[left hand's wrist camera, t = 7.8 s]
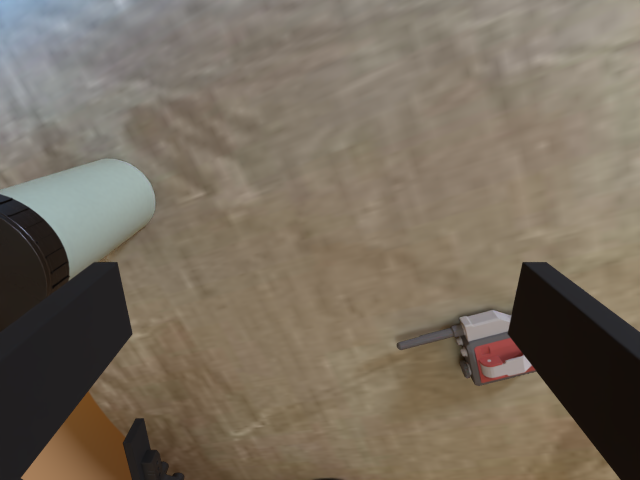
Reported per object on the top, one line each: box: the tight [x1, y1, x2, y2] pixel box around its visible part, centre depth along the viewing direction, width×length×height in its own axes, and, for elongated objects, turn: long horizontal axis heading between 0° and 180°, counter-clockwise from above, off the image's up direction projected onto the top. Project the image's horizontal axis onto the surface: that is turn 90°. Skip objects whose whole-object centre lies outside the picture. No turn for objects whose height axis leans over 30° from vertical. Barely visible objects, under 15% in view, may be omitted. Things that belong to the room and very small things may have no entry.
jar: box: [0, 159, 156, 280], centre depth 32 cm, size 8×8×18 cm
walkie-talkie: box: [397, 310, 536, 386], centre depth 44 cm, size 9×4×20 cm
